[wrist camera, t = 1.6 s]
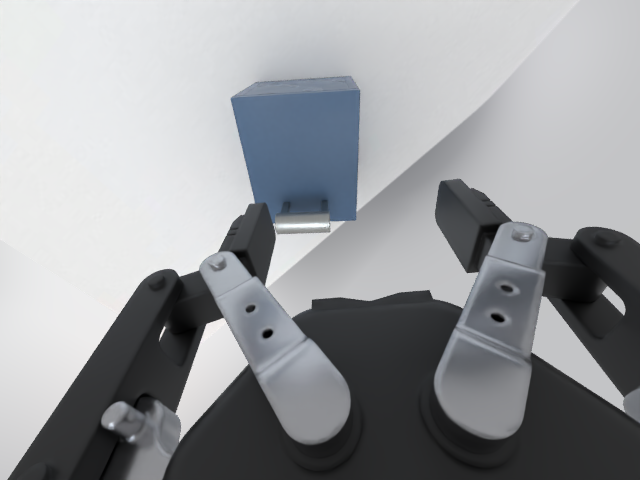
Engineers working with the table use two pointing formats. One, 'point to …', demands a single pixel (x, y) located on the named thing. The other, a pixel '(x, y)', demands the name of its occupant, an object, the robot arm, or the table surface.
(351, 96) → the lid
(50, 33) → the table surface
